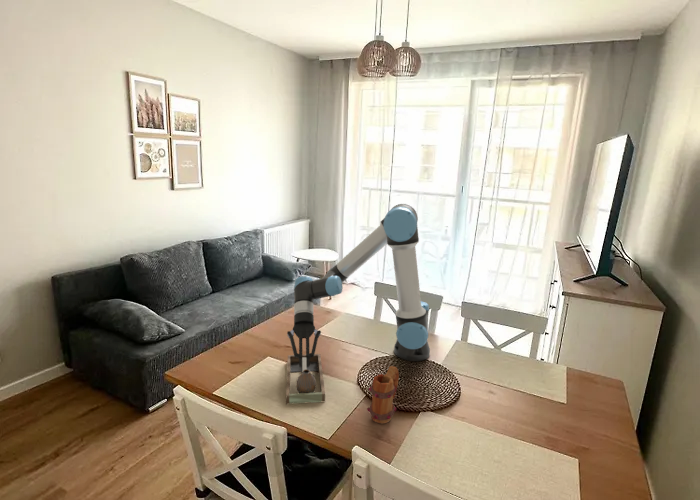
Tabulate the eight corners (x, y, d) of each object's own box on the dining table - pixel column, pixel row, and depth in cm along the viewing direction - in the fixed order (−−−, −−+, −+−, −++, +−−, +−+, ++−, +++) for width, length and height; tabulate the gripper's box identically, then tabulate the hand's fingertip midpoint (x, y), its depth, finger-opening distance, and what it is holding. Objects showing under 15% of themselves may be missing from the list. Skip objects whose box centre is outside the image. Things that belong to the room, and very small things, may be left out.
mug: (385, 431, 121) (388, 387, 117) (362, 421, 125) (364, 378, 122) (405, 407, 133) (408, 366, 129) (384, 399, 137) (386, 359, 134)
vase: (313, 400, 135) (313, 377, 133) (293, 398, 136) (293, 375, 134) (317, 389, 142) (318, 367, 140) (299, 386, 143) (299, 364, 141)
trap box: (287, 362, 160) (287, 355, 159) (320, 360, 162) (320, 353, 161) (286, 403, 133) (286, 395, 132) (325, 401, 135) (325, 393, 134)
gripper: (320, 318, 158) (322, 378, 146) (287, 318, 157) (286, 379, 144) (321, 310, 152) (323, 372, 140) (286, 311, 150) (285, 374, 138)
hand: (304, 376), depth 142 cm, fingers closed
